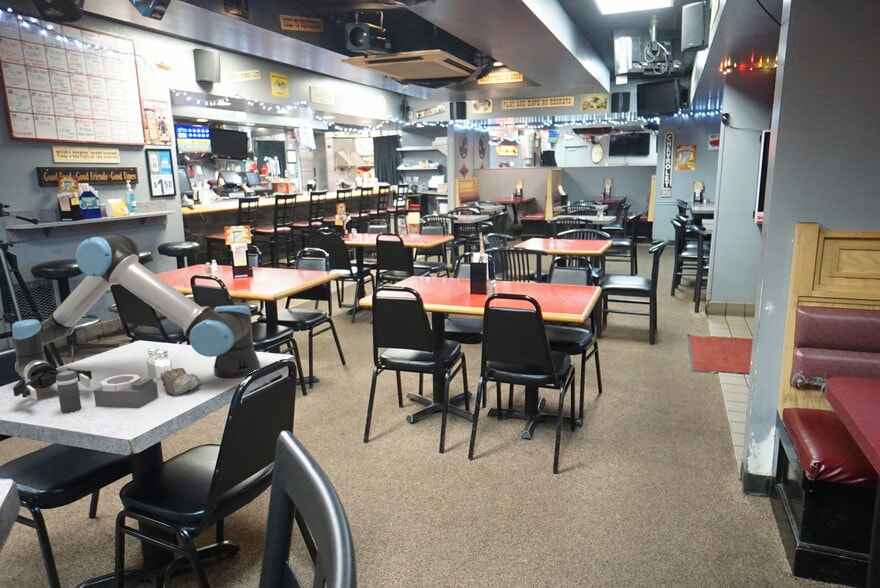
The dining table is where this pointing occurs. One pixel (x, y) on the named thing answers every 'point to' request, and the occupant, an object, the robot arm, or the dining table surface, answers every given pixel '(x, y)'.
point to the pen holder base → (125, 391)
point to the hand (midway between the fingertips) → (62, 388)
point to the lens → (68, 391)
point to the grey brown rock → (178, 381)
